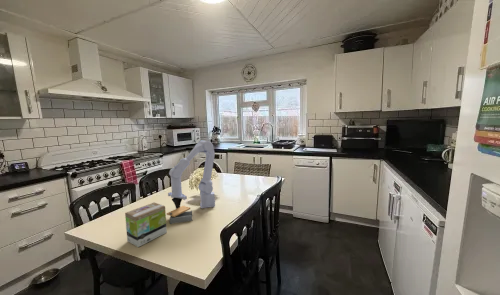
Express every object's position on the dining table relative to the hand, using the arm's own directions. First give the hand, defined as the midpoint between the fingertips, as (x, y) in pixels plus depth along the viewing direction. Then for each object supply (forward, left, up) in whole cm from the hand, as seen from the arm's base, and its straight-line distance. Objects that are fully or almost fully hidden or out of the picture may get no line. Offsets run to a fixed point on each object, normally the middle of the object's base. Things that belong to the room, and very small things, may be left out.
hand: (178, 208), depth 124 cm
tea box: (+13, +22, -4) cm, 26 cm away
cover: (-1, +4, 0) cm, 4 cm away
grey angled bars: (-2, +8, -3) cm, 9 cm away
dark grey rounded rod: (-2, +8, -3) cm, 9 cm away
